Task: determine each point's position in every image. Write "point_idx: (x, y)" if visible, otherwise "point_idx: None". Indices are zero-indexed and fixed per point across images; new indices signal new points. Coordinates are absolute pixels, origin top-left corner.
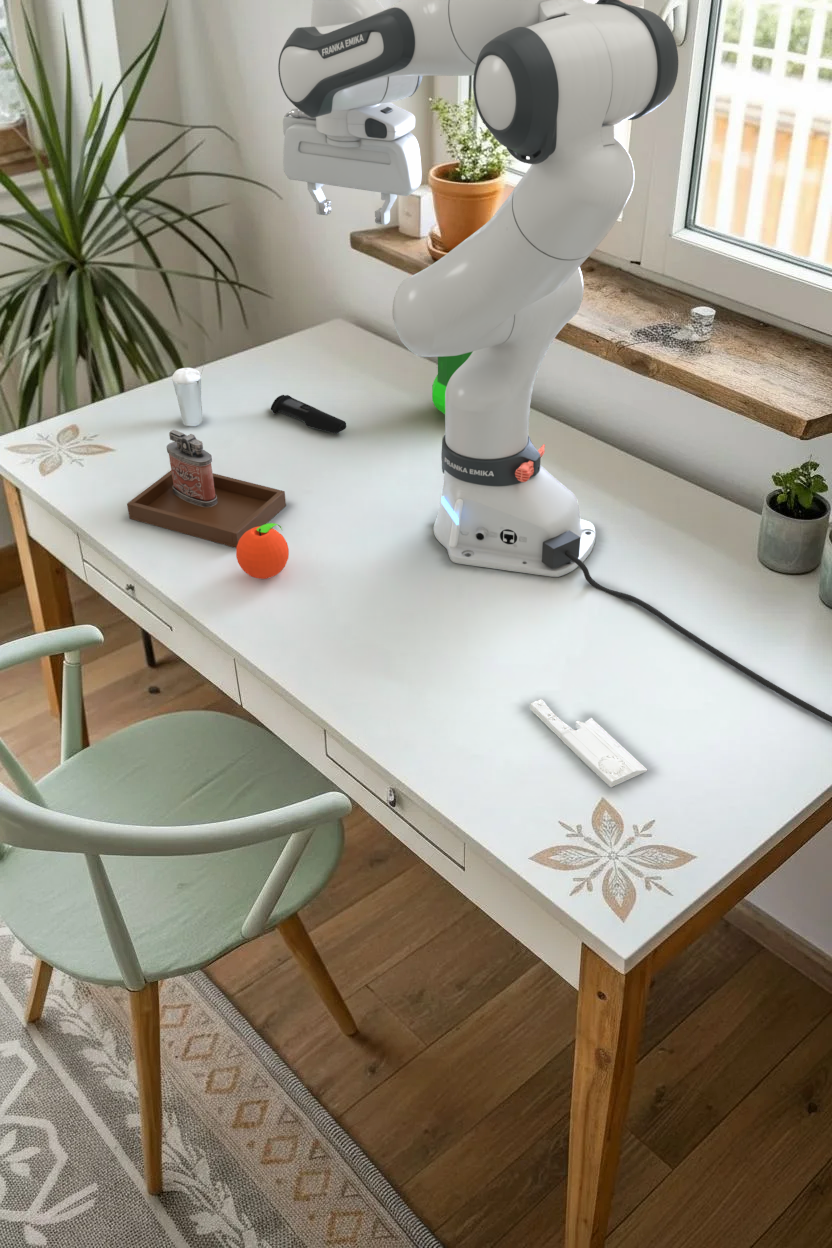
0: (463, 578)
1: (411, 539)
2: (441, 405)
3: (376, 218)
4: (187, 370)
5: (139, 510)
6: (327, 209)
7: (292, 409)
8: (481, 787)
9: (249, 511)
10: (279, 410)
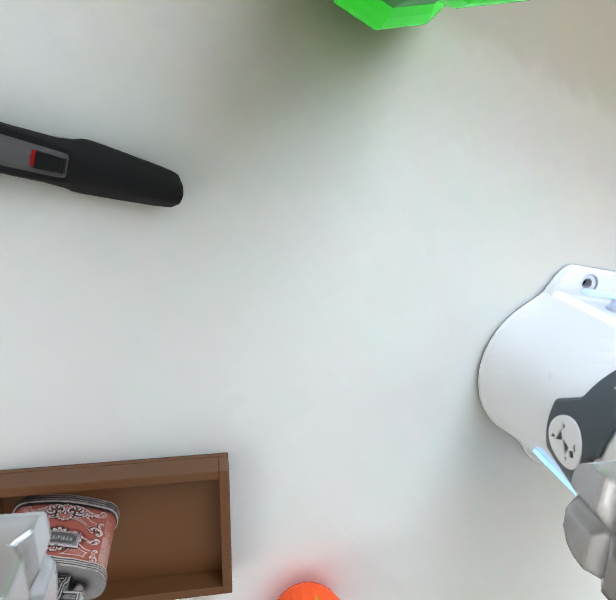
0: (554, 478)
1: (457, 436)
2: (367, 24)
3: (601, 572)
4: None
5: None
6: (28, 583)
7: (17, 175)
8: None
9: (187, 502)
10: None
